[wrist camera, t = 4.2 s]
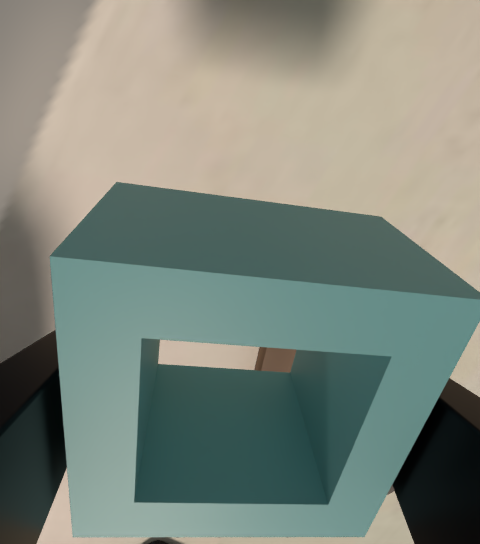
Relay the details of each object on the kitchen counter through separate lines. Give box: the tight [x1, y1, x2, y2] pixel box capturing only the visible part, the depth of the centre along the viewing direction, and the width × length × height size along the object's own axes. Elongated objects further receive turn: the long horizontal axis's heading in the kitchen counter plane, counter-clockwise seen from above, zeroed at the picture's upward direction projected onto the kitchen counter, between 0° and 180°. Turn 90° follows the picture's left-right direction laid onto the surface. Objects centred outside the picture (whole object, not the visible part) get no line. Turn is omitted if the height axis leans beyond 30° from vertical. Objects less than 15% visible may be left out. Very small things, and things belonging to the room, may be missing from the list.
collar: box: [50, 182, 480, 537], centre depth 8 cm, size 6×6×4 cm
